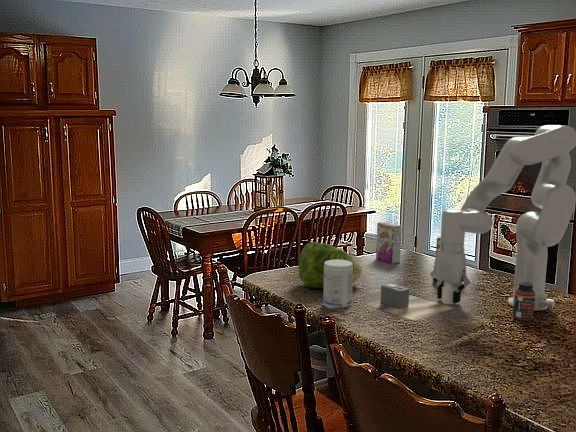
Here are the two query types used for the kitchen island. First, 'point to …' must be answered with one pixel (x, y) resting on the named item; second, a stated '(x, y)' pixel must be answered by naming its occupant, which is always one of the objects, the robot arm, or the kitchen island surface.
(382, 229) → the candy bar box
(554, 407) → the kitchen island surface
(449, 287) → the pepper shaker
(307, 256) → the lettuce
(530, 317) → the supplement bottle
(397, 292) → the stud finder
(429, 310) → the plywood panel
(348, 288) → the supplement tub
